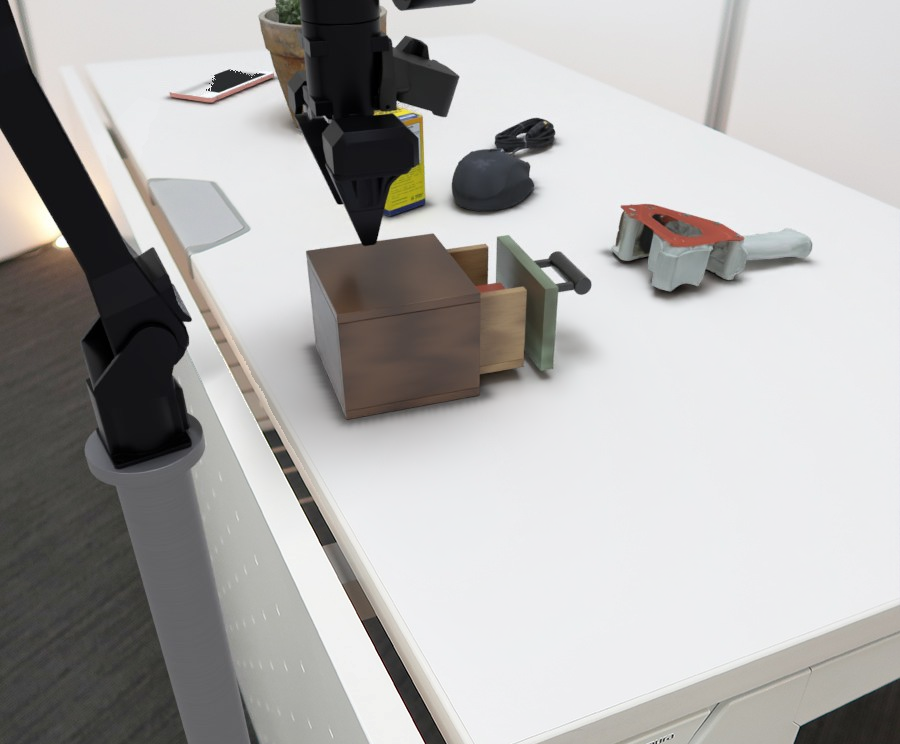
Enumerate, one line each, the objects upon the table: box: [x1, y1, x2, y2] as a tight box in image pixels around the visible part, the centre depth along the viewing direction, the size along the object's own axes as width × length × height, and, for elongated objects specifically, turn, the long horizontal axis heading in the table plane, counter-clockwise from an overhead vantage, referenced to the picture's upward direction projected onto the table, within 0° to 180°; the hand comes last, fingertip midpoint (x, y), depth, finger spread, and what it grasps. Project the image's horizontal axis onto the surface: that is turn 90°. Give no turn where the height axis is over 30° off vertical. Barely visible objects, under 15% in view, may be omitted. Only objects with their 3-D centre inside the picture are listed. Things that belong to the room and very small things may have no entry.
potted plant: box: [257, 0, 388, 130], centre depth 134 cm, size 18×19×25 cm
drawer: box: [446, 234, 593, 375], centre depth 82 cm, size 15×11×8 cm
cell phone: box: [169, 68, 275, 103], centre depth 158 cm, size 9×18×1 cm, turn 154°
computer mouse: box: [451, 117, 556, 212], centre depth 122 cm, size 10×32×6 cm, turn 163°
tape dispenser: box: [611, 203, 813, 292], centre depth 97 cm, size 18×5×20 cm
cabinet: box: [305, 232, 481, 420], centre depth 79 cm, size 12×13×10 cm
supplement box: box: [375, 106, 426, 217], centre depth 111 cm, size 6×6×11 cm
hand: (355, 223), depth 76 cm, fingers open, 9 cm apart
